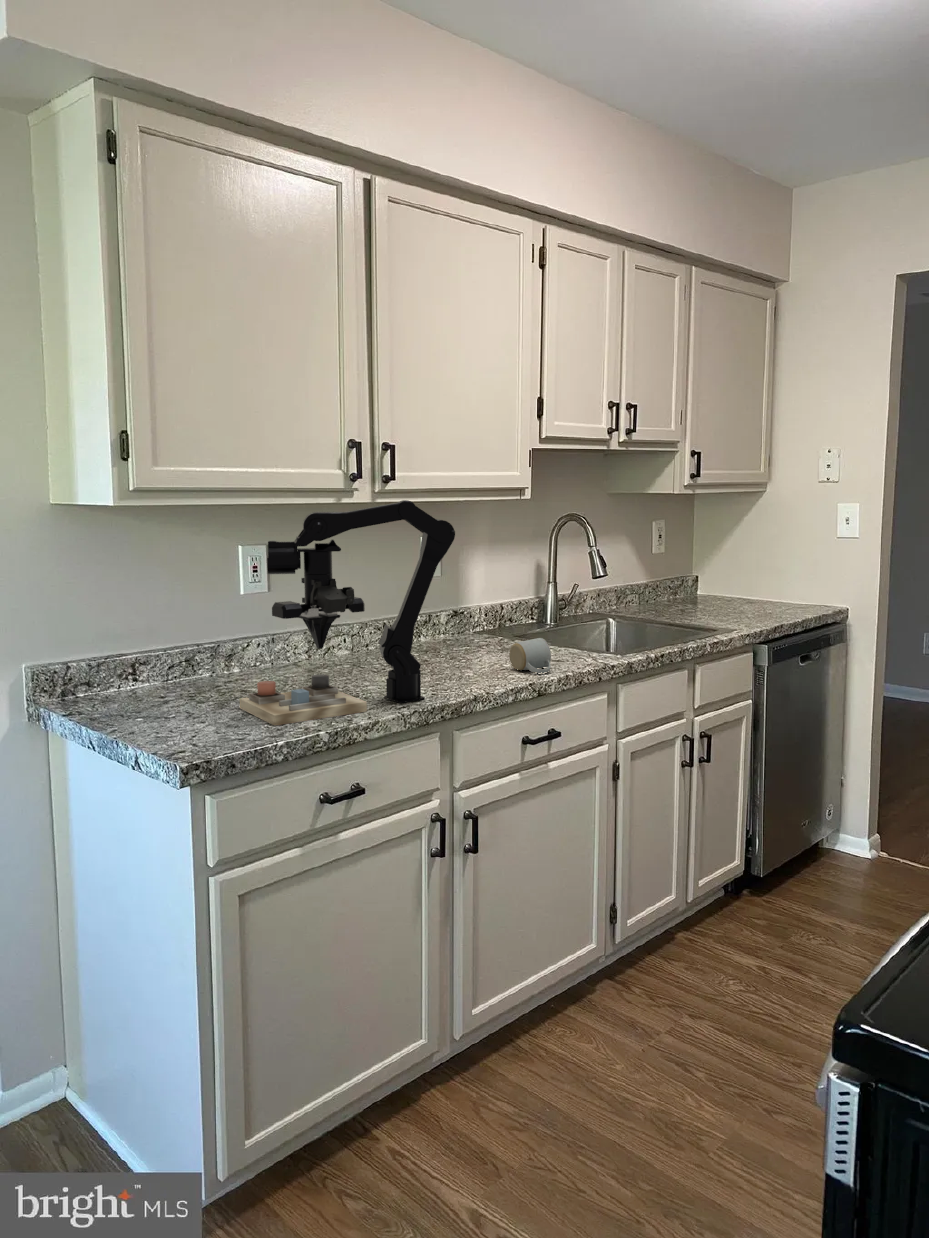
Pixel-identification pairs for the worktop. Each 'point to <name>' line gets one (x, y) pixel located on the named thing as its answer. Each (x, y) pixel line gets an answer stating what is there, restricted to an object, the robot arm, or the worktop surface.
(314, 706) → the control panel
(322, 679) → the black button
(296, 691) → the slider knob
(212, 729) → the worktop surface
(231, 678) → the worktop surface
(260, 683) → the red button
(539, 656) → the ceramic mug
